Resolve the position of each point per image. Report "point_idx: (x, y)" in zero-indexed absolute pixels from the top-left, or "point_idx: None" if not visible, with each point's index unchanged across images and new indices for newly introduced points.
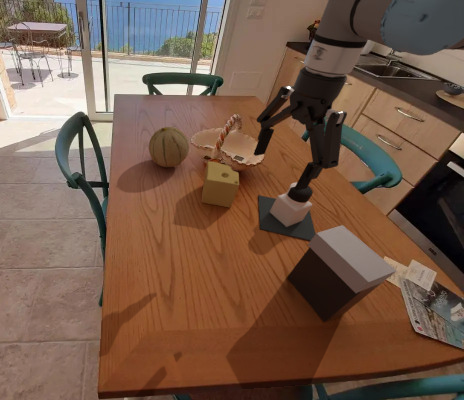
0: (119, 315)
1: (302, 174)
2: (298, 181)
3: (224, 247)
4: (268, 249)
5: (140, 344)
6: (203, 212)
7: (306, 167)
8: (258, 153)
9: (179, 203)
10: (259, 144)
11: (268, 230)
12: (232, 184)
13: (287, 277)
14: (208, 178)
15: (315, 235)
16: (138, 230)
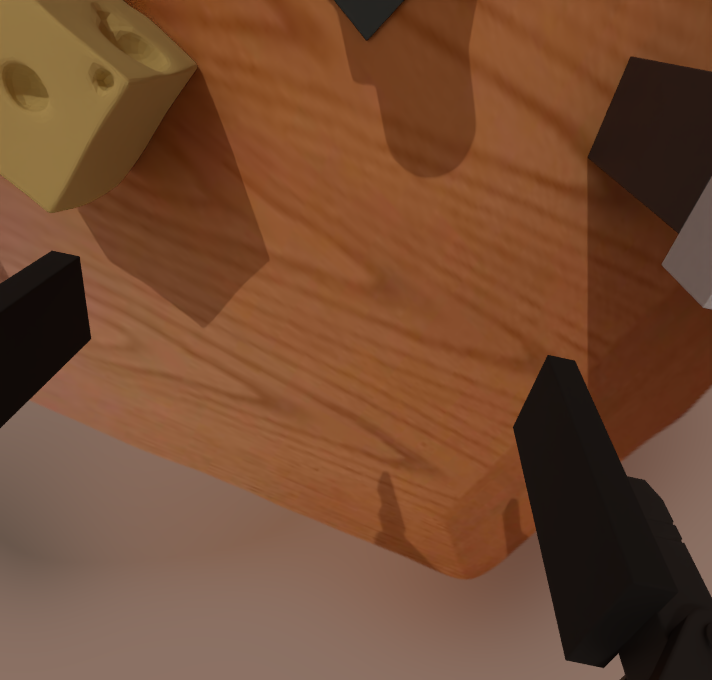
0: (386, 533)
1: (542, 534)
2: (528, 477)
3: (364, 253)
4: (464, 106)
5: (453, 533)
6: (186, 200)
7: (560, 607)
8: (77, 328)
9: (114, 250)
10: (19, 406)
11: (395, 9)
12: (113, 112)
13: (590, 158)
14: (43, 202)
15: (699, 300)
16: (196, 415)
